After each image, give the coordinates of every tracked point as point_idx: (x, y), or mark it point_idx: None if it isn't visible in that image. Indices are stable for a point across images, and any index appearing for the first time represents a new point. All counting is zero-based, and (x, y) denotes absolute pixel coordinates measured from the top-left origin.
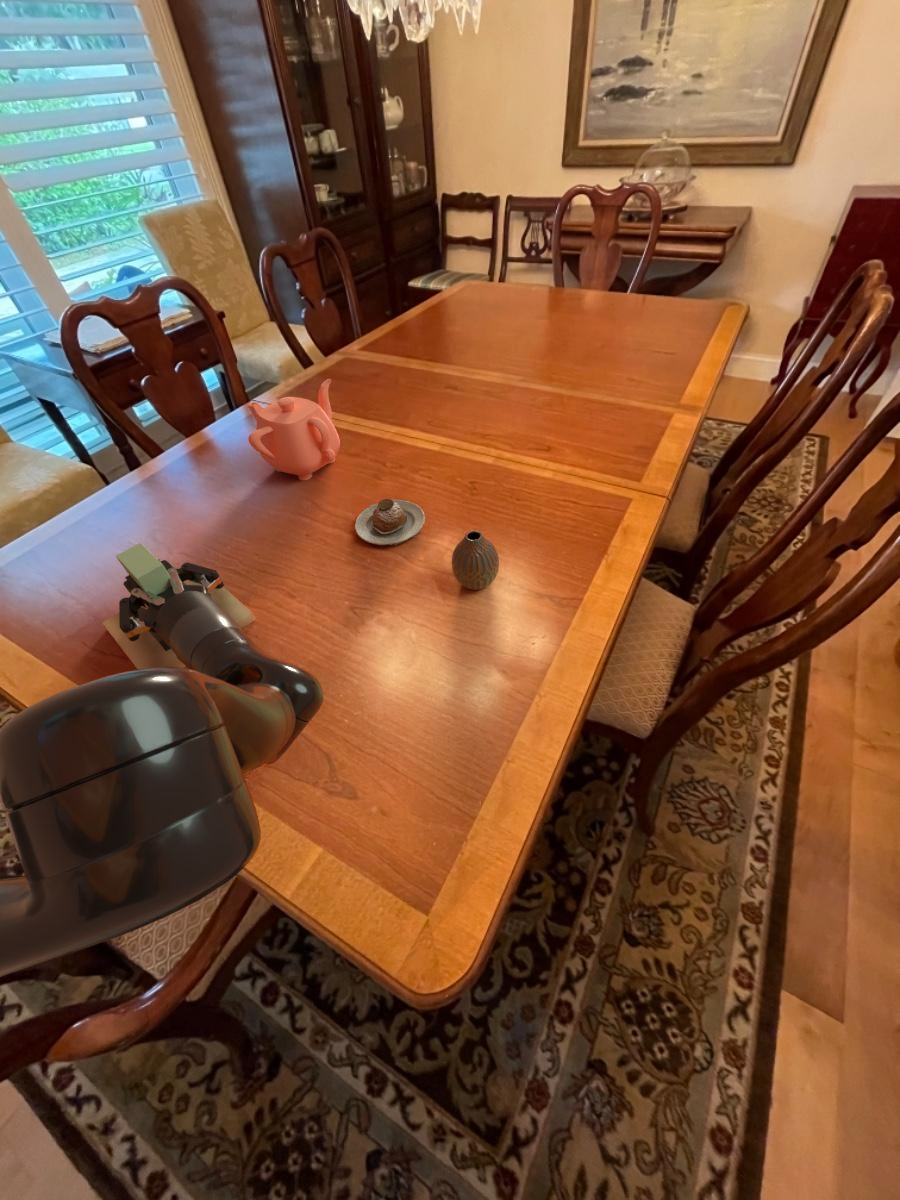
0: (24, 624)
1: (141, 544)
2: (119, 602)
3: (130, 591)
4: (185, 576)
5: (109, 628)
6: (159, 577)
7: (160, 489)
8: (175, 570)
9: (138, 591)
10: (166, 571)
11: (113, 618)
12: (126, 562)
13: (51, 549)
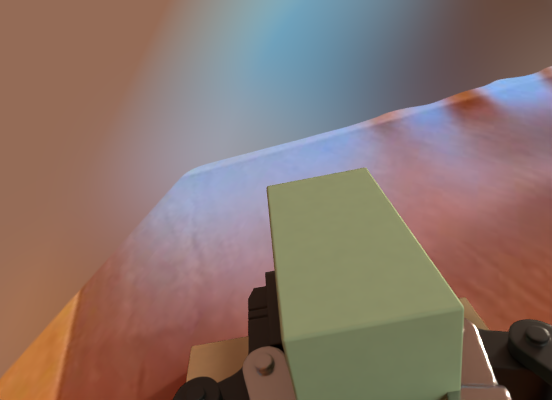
0: (116, 272)
1: (367, 173)
2: (176, 394)
3: (251, 345)
4: (508, 388)
5: (192, 376)
6: (405, 371)
7: (396, 137)
8: (476, 341)
9: (274, 375)
10: (459, 352)
11: (216, 349)
12: (285, 221)
13: (228, 176)
